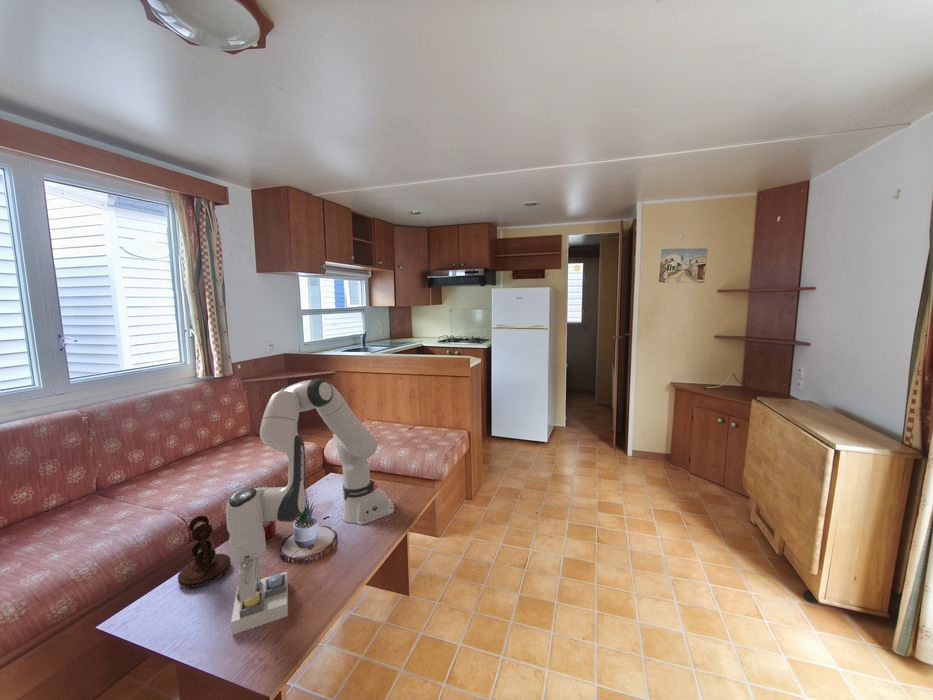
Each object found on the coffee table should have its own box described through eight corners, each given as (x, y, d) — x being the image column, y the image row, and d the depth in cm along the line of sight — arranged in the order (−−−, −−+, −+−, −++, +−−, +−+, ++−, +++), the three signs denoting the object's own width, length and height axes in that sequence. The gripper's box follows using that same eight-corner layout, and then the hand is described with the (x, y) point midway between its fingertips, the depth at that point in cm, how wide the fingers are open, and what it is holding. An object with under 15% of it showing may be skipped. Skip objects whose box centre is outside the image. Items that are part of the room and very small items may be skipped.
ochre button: (260, 598, 110) (259, 589, 110) (259, 608, 107) (259, 599, 106) (245, 603, 109) (244, 594, 108) (243, 613, 105) (242, 604, 105)
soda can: (268, 544, 143) (265, 514, 142) (251, 541, 145) (249, 513, 143) (280, 532, 150) (278, 505, 149) (265, 530, 152) (263, 503, 150)
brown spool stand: (235, 574, 127) (229, 520, 124) (181, 598, 117) (174, 539, 114) (226, 554, 137) (221, 503, 135) (176, 574, 127) (169, 520, 125)
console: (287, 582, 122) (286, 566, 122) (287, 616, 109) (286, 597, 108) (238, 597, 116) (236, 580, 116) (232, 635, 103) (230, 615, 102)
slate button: (283, 581, 117) (282, 572, 117) (283, 589, 114) (282, 580, 113) (269, 585, 116) (268, 576, 115) (268, 594, 112) (267, 585, 112)
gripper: (258, 565, 98) (263, 612, 99) (262, 525, 116) (266, 565, 118) (230, 574, 95) (235, 622, 97) (239, 531, 113) (243, 572, 115)
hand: (252, 590), depth 107 cm, fingers closed
